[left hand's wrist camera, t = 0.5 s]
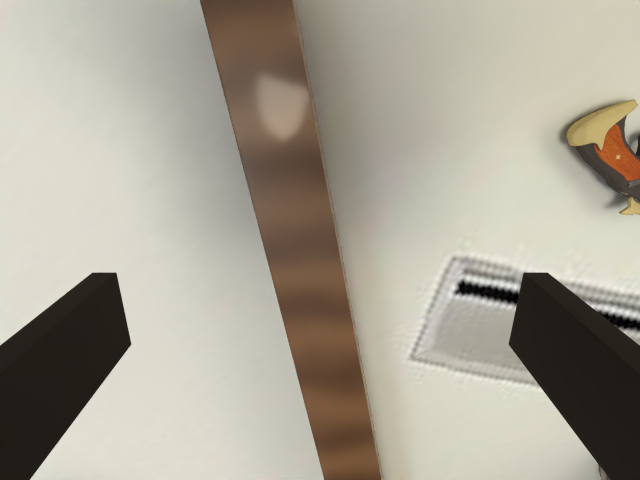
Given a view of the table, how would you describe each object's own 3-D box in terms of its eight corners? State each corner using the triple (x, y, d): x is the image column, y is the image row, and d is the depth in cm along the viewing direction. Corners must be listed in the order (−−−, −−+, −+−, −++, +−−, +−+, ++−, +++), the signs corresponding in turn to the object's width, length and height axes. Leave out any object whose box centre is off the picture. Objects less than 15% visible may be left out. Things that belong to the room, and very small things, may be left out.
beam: (227, 13, 28) (195, -14, 21) (294, -2, 28) (286, -34, 20) (371, 614, 54) (379, 693, 47) (407, 610, 54) (420, 689, 47)
